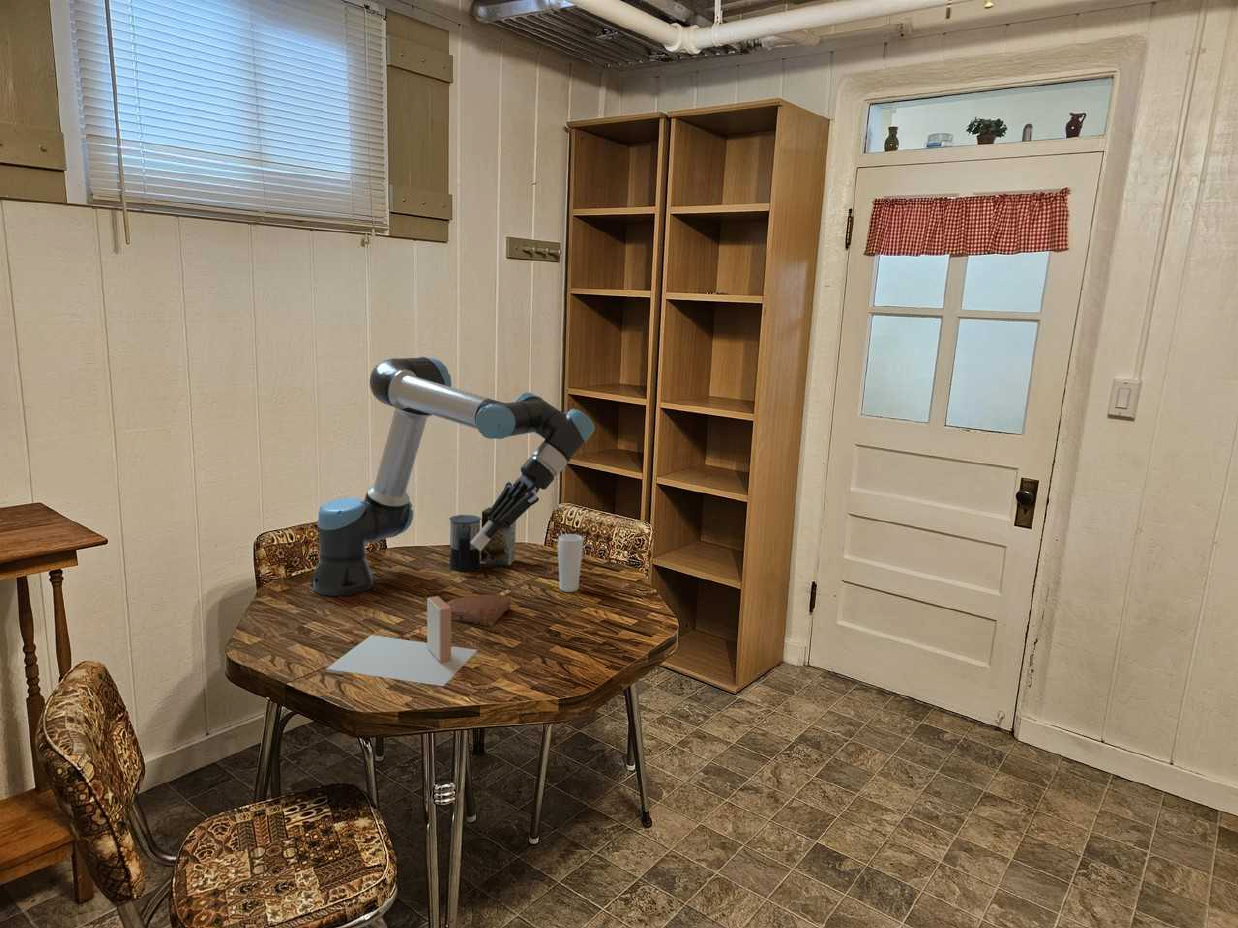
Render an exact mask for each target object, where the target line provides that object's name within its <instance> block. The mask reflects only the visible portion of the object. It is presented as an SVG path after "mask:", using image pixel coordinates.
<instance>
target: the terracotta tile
mask: <svg viewBox="0 0 1238 928" xmlns="http://www.w3.org/2000/svg"><path fill="white" fill-rule="evenodd" d="M426 602H427V603H426V604H427V605H426V612H427V613H426V620H427V622H426V623H427V624H426V627H427V628H426V629H427V630H426V632H427V633H426V640H427V641H426V643H427V648H428V649H429V650H430V651H431V653H432V654H433V655H434V656H435V657H436V658H437V659H438V660H439V661H440V662H441V663H444V662H449V661H451V646H452V620H451V607H449V606H448V605H447V604H446V603H447V602H445V601H444V600H443V599H442V598H441V597H440V596H438V595H437V596H430V597H427V599H426Z"/></svg>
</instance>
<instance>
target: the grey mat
mask: <svg viewBox="0 0 1238 928" xmlns="http://www.w3.org/2000/svg"><path fill="white" fill-rule="evenodd" d="M476 652H478V649H474V648H473V649H472V648H466V647H459V646H452V645H451V661H449V662H444V663H441V662H440V661H439V660H438V659H437V658H436V657H435V656H434V655H433V654H432V653H431V651H430V650H429V649H428V648H427V642H422V641H416V640H408V639H400V638H396V637H395V638H392V637H386V636H379V635H378V636H377V635H373V634H372V635H371V634H370V635H369V636H367V638H365V639H364V640H362V641H361V642H360V643H358V644H357V645H356V646H355V647H353V648H352V649H351V650H349V651H348V652H347V653H345V654H344V655H343V656H341V657H340V658H338V659H337V660H336V661H334V662H333V663H332V664H330V665H329V666H328V667H326V669H325V673H330V674H334V675H335V674H336V675H342V676H345V673H351V674H357V675H365V676H372V677H377V678H385V679H389V680H390V679H391V680H392V679H393V680H397V681H405V682H411V683H412V682H413V683H419V684H424V685H425V684H426V685H430V686H436V687H437V686H439V687H444V686H445V685H446V684H447V683H448V682H449V681H450V680H451V679H453V677H454V676H455V674H457V673H458V672H459V671H460V670H461V668H462V667H463V666H465V664H466V663H467V662H468V661H469V660H470V659H471V658H472V657H473V656H474V655H475V654H476ZM344 672H345V673H344Z"/></svg>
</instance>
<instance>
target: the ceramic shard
mask: <svg viewBox="0 0 1238 928" xmlns="http://www.w3.org/2000/svg"><path fill="white" fill-rule="evenodd" d="M445 603H446V604H447V605H448V606H449V607H451V621H456V622H462V623H463V622H464V623H472V624H477V625H482V626H486V627H493V626H494V625H495V624H496V622H497V621H498V620H499V619H500V618H501V616H503V614H504V613H506V612H507V611H508V610H509V609H510V608H511V605H512V604H511V601H510V599H508V598H506V597H505V596H501V595H498V594H472V595H465V596H463V597H457V598H454V599H451V600H448V601H446V602H445Z"/></svg>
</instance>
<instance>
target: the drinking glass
mask: <svg viewBox="0 0 1238 928" xmlns="http://www.w3.org/2000/svg"><path fill="white" fill-rule="evenodd" d="M583 538H584V537H583V536H581V535H580V534H575V533H574V534H572V533H565V534H561V535H558V540H557V562H558V578H559V581H558V582H559V585H558V586H559V587H558V588H559V589H560V591H562V592H565V593H574V592H577V591H578V590H579V586H580V575H581V569H582V560H583V551H584V548H583V547H584V545H583V543H584V541H583Z"/></svg>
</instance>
